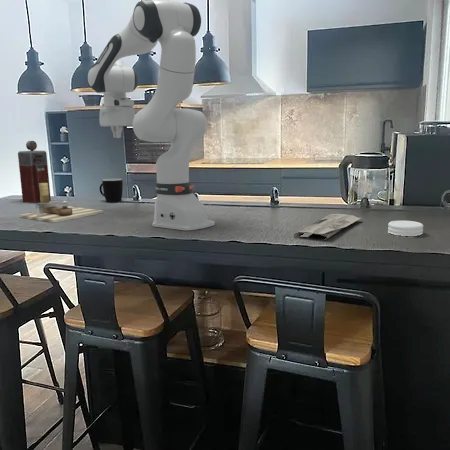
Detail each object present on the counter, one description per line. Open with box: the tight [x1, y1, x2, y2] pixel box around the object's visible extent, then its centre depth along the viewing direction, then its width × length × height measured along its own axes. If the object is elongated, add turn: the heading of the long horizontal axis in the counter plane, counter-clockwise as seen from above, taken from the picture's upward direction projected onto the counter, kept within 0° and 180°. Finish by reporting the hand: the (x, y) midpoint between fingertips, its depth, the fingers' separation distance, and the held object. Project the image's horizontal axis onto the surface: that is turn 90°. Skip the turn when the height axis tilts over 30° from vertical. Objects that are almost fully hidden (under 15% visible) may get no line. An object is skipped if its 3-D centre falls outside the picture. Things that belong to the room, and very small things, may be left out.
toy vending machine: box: [17, 140, 52, 204], centre depth 219 cm, size 9×11×28 cm
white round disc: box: [387, 220, 424, 236], centre depth 144 cm, size 10×10×4 cm
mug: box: [99, 178, 124, 204], centre depth 218 cm, size 12×9×10 cm
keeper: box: [34, 200, 70, 216], centre depth 179 cm, size 10×10×5 cm
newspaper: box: [293, 213, 362, 241], centre depth 152 cm, size 35×12×4 cm, turn 151°
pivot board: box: [18, 205, 104, 223], centre depth 185 cm, size 21×23×1 cm
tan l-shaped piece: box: [39, 183, 72, 215], centre depth 182 cm, size 16×5×11 cm, turn 56°
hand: (117, 137), depth 192 cm, fingers closed
